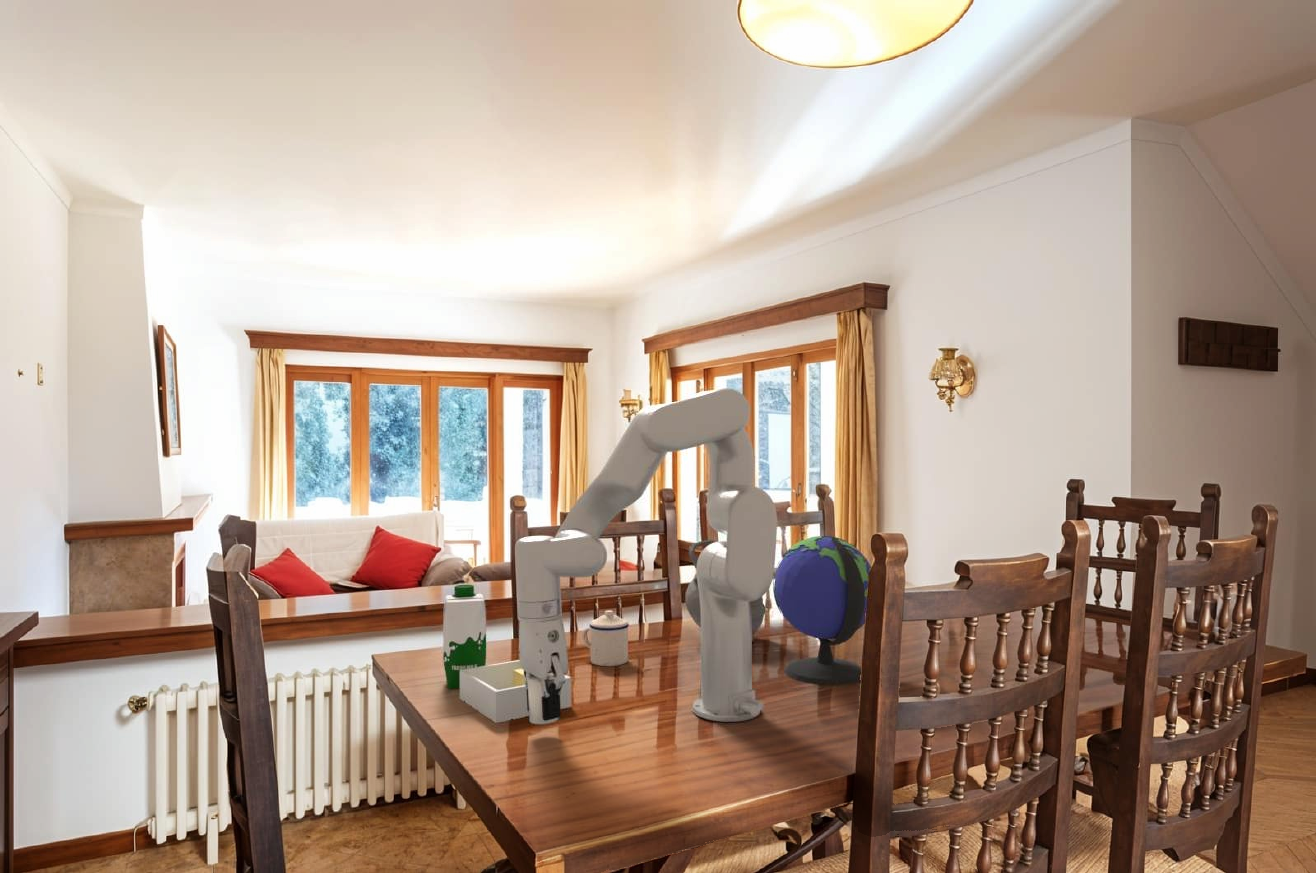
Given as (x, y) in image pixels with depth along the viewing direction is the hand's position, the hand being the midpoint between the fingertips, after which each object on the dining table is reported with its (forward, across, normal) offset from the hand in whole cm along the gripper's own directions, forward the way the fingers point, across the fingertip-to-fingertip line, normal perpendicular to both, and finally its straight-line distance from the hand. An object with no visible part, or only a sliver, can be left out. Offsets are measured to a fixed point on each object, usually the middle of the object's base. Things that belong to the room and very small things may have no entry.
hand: (543, 713), depth 138 cm
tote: (+4, +19, -3) cm, 20 cm away
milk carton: (+4, +37, 0) cm, 37 cm away
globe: (+7, -2, -67) cm, 68 cm away
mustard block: (+3, +19, -7) cm, 21 cm away
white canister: (+1, 0, 0) cm, 1 cm away
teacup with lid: (+5, +35, -33) cm, 49 cm away
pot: (+6, +33, -68) cm, 76 cm away
